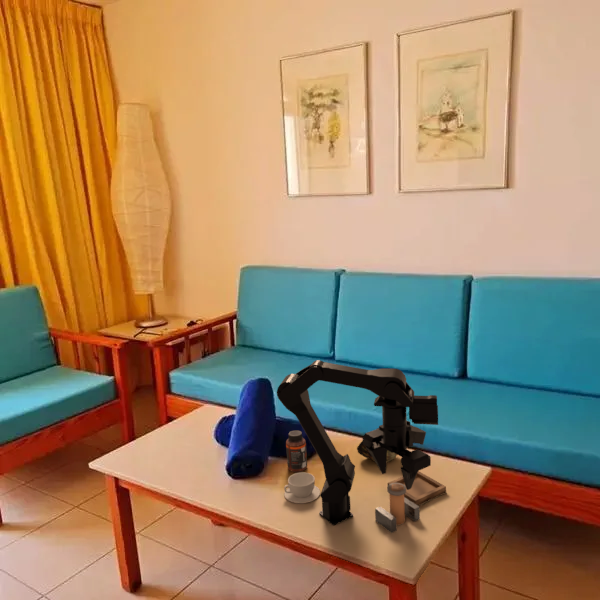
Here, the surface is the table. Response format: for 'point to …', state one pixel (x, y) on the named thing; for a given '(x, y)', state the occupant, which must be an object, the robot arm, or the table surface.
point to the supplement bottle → (296, 452)
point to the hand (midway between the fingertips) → (396, 481)
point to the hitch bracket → (390, 521)
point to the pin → (397, 501)
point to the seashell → (366, 453)
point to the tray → (422, 489)
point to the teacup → (301, 488)
